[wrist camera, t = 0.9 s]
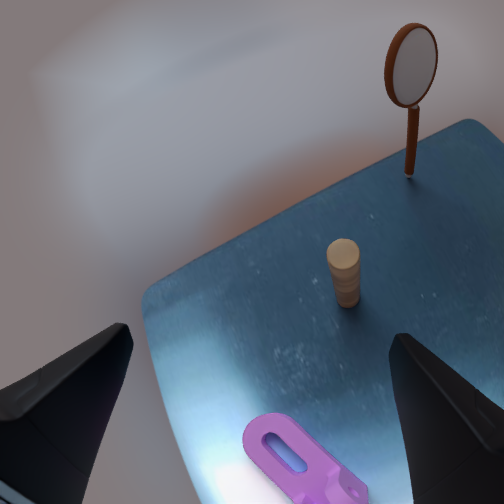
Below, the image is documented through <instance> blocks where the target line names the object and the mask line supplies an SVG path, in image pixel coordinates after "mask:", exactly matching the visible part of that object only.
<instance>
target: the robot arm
mask: <svg viewBox="0 0 504 504" xmlns="http://www.w3.org/2000/svg"><path fill="white" fill-rule="evenodd" d="M132 350H133V339H132V336H131V333H130V330H129V327H128V326H127V324H123V323H115V324H113V325H111V326H110V327H108V328H107V329H105V330H103V331H101V332H100V333H98V334H96V335H95V336H93V337H91V338H90V339H88V340H86V341H85V342H83V343H81V344H80V345H78V346H77V347H75V348H73V349H71V350H70V351H68V352H66V353H65V354H63V355H61V356H60V357H58V358H56V359H55V360H53V361H51V362H50V363H48V364H46V365H45V366H43V367H42V368H40V369H38V370H37V371H35V372H33V373H32V374H30V375H28V376H27V377H25V378H23V379H21V380H19V381H17V382H15V383H13V384H11V385H9V386H7V387H5V388H3V389H1V390H0V504H82V501H83V498H84V494H85V491H86V488H87V484H88V481H89V477H90V474H91V471H92V468H93V464H94V462H95V459H96V456H97V453H98V449H99V447H100V444H101V441H102V438H103V435H104V432H105V430H106V427H107V424H108V422H109V419H110V416H111V413H112V411H113V408H114V406H115V403H116V400H117V398H118V395H119V392H120V390H121V387H122V385H123V381H124V378H125V375H126V371H127V368H128V364H129V361H130V357H131V354H132ZM389 362H390V369H391V376H392V384H393V391H394V397H395V402H396V406H397V411H398V415H399V420H400V424H401V429H402V434H403V439H404V444H405V449H406V455H407V460H408V466H409V472H410V479H411V486H412V493H413V500H414V501H413V503H414V504H504V410H503V409H502V408H500V407H499V406H498V405H496V404H495V403H494V402H492V401H491V400H490V399H489V398H487V397H486V396H485V395H484V394H482V393H481V392H480V391H479V390H478V389H476V388H475V387H474V386H473V385H471V384H470V383H469V382H468V381H467V380H465V379H464V378H463V377H462V376H461V375H459V374H458V373H457V372H456V371H454V370H453V369H452V368H451V367H450V366H448V365H447V364H446V363H445V362H443V361H442V360H441V359H440V358H438V357H437V356H436V355H435V354H433V353H432V352H431V351H430V350H428V349H427V348H426V347H425V346H423V345H422V344H421V343H420V342H418V341H417V340H416V339H414V338H413V337H412V336H411V335H409V334H408V333H399V334H396V335H395V337H394V340H393V343H392V346H391V348H390V351H389Z"/></svg>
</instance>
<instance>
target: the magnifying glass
mask: <svg viewBox="0 0 504 504" xmlns="http://www.w3.org/2000/svg"><path fill="white" fill-rule="evenodd" d="M437 63H438V50H437V43H436V40H435V37H434V35H433V33H432V32H431V31H430V30H429V29H428V28H427V27H426V26H424V25H422V24H419V23H410V24H407V25H405V26H404V27H402V28H401V29H400V30H399V31H398V32H397V34H396V35H395V37H394V38H393V40H392V42H391V44H390V47H389V50H388V53H387V56H386V61H385V69H384V80H385V87H386V91H387V94H388V96H389V98H390V99H391V100H392V101H393V103H395V104H396V105H397V106H399V107H402V108H408V128H407V146H406V159H405V170H404V172H405V174H406V177H407V178H411V175H412V174H413V173H414V166H415V157H416V148H417V138H418V126H419V111H420V108H419V106H418V103H419V102H420V101H421V100H422V99H423V98H424V96H425V95H426V94H427V92H428V91H429V89H430V87H431V84H432V82H433V80H434V77H435V73H436V69H437Z"/></svg>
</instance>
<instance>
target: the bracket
mask: <svg viewBox="0 0 504 504" xmlns="http://www.w3.org/2000/svg"><path fill="white" fill-rule="evenodd" d="M269 432H273V433H276V434H277V435H278V436H279V437H280V438H281V439H282V440H283V441H284V442H285V443H286V444H287V445H288V446H289V447H290V448H291V449H292V450H293V451H294V452H295V453H296V454H297V455H298V456H300V457H301V458H302V459H303V460H304V461H305V462H306V464H307V467H308V468H307V470H306V471H304V472H296V471H294V470H293V469H292V468H291V467H290V466H289V465H288V464H287V463H286V462H285V461H284V460H283V459H282V458H281V457H280V456H279V455H278V454H277V453H276V452H275V451H274V450H273V449H272V448H271V447H270V446H269V445H268V444H267V443H266V439H265V438H266V435H267V434H268V433H269ZM242 441H243V447H244V450H245V452H246V454H247V455H248V456H249V458H250V459H251V460H252V461H253V462H254V463H255V464H256V465H257V466H258V467H259V468H260V469H261V470H262V471H263V472H264V473H265V474H266V475H267V476H268V477H269V478H270V479H271V480H272V481H273V482H274V483H275V484H276V485H277V486H278V487H279V488H280V489H281V490H282V491H283V492H284V493H285V494H286V495H288V496H289V497H290V498H291V499H292V500H293V502H294V504H368V492H367V485H366V484H364V483H363V482H362V481H361V480H360V479H358V478H357V477H356V476H355V475H354V474H352V473H351V472H350V471H349V470H348V469H347V468H346V467H344V466H343V465H342V464H341V463H340V462H339V461H338V460H336V459H335V458H334V457H333V456H332V455H331V454H330V453H329V452H328V451H326V450H325V449H324V448H323V447H322V446H321V445H320V444H319V443H318V442H317V441H316V440H315V439H314V438H313V437H311V436H310V435H309V434H308V433H307V432H306V431H305V430H304V429H303V428H302V427H301V426H300V425H299V424H298V423H297V422H296V421H295V420H294V419H292V418H291V417H289V416H287V415H285V414H281V413H269V414H264V415H261V416H258V417H256V418H255V419H253V420H252V421H251V422H250V423H249V424H248V425H247V426H246V428H245V430H244V433H243V439H242Z"/></svg>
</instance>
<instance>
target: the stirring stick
mask: <svg viewBox="0 0 504 504" xmlns="http://www.w3.org/2000/svg"><path fill="white" fill-rule="evenodd" d="M326 255H327V261H328V265H329V269H330V273H331V277H332V281H333V285H334V290H335V294H336V298H337V302H338V303H339V305H340V306H342V307H344V308H351V307H354V306H355V305H356V304H357V303H358V302H359V299H360V250H359V247H358V246H357V244H356V243H355V242H353V241H352V240H349V239H338V240H336V241H334V242H333V243H332V244H331V245H330V246H329V247H328V249H327V254H326Z"/></svg>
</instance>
